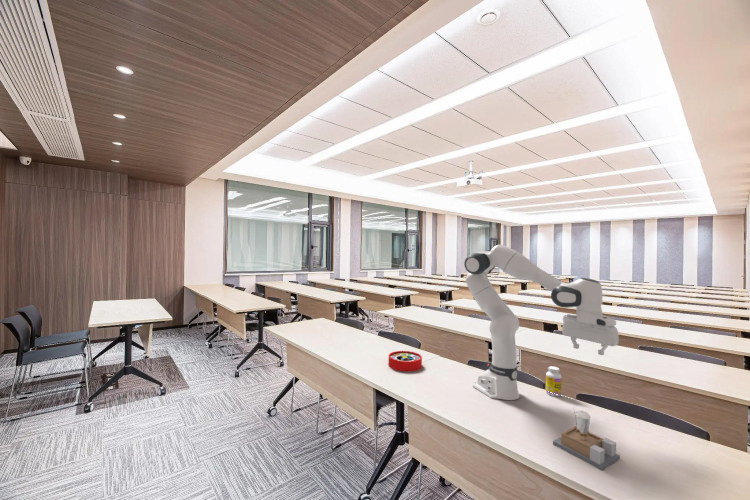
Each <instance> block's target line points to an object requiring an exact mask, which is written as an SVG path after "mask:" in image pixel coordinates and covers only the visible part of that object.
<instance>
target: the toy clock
mask: <svg viewBox="0 0 750 500" xmlns="http://www.w3.org/2000/svg"><path fill="white" fill-rule="evenodd" d="M422 363H423V356H422V355H421V354H419V353H417V352H416V351H409V350H398V351H397V350H395V351H392V352H390V353H389V354H388V364H387V365H388V367H389V368H390V369H392V370H395V371H399V372H416V371H419V370H420V369H422V367H423V365H422Z"/></svg>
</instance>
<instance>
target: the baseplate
mask: <svg viewBox="0 0 750 500" xmlns="http://www.w3.org/2000/svg"><path fill="white" fill-rule="evenodd" d="M552 445H553V446H555V447H557V448H558V449H561V450H563V451H565V452H566V453H568V454H570V455H572V456H575V457H576V458H578V459H580V460H582V461H584V462H585V463H587V464H589V465H590V466H592V467H595V468H596V469H598V470H600V471H602V472H603V471H604V470H606V469H608V468H609V467H610V466H613V464H614V463H616V462H617V461H619V460H621V454H618V453H617V442H616V441H614V440H612V439H609V438H607V437H605V438H603V437H600V436H598V435H596V434H593V433H591V432H589V434H588V440H581V439H579V438H578V437H577V430H576V425H575V426H573V427H570V428H569V429H567V430H566V431H563V432H561V434H560V437H559V438H557V439H555V440H553V441H552Z"/></svg>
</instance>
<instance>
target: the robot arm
mask: <svg viewBox="0 0 750 500" xmlns="http://www.w3.org/2000/svg"><path fill="white" fill-rule="evenodd" d="M464 268H465V270H466V271H467V272H468V274H467V275H466V276H465V279H464V280H465V284H466V285H467V288H468V289H469V290H468V291H469V292H470V293H471V295H472V297H473V299H474V300H475V302H476V303H477V305H478V307H479V309H480V310H481V311H482V312H484V313H485V314H486V316H488V317H489V318H490V320H491V321H490V324H489V333H490V339H491V348H492V349H491V352H492V353H491V354H492V355H491V356H492V357H491V362H488V363H487V367H488V369H486V370H484V371H483V372H481V373H479V374H478V376H477V380H476V381H474V382H473V383H472V387H473V388H474V389H477V390H478V391H479V392H481V393H482V394H484V395H486V396H487V397H489V398H490V399H499V400H504V401H515V400H518V399H519V398H520V397H521V396H520V392H519V389H518V388H519V387H518V380H517V378H518V366H517V352H518V351H517V345H516V333H517V331H518V330H519V328H520V320H519V318H518V316H517V315H516V314H515V313H514V312H513V310H511V308H510V307H509V306H508V305H507V304H506V303H505V301H504V300H503V299H502V298H501V296H500V295H499V293H498V292H497V290H496V289H495V288H494V286H493V284H492V282H490V280H489V278H488V275H490V274H491V273H492V271H493V270H495V268H497V269H500V270H501V271H503V272H504V273H506V274H508V275H509V276H511V277H513V278H516V279H518V280H525V281H530V282H531V281H532V282H534V283H536V284H539V285H540V286H541V287H543V288H545V289H546V290H548V291H550V292H551V293H550V298H551V300H552V303H554V304H555V305H556V306H558V307H560V308H564V309H565V308H576V313H575V314H576V315H575V314H570V313H569V314H567V313H566V314H564V315H563V317H562V322H563V323H562V328H561V333H562V335H563V336H566V337H570V340H571V343H572V345H573V346H572V347H573V349H577V350H579V349H580V344H579V343H577V339H579V340H582V341H587V342H592V343H595V344H601V345H600V347H601V349H598V350H597V354H598V355H599V356H604V355H605V351H606V349H607V348H608V347H617V346H618V344H619V343H620V339H619V338H620V337H619V330H618V329H617V327H616V325H617V321H616V320H615V319H613V318H611V317H609V316H607V315H604V314H603V309H602V303H603V286H602V284H601V283H600V281H598V280H596V279H592V278H586V277H579V278H578V279H576V280H573V281H572V282H568V281H567V282H566V281H564V280H560V279H558V278H556V277H554V276H553V275H552V274H550V273H548V272H547V271H544V270H543V269H541V268H540V267H539V266H537V265H536V264H535V263H533V262H532V261H531V260H530V259H529V258H528V257H526V256H525V255H523V254H522V253H520V252H518V251H517V250H515V249H513V248H510V247H509V246H507V245H504V244H497V245H494V246H493V247H492V248H491V249H490V250H489V249H485V250H478V251H476V252H473V253H471V254H469V255H467V257H466V258H465V259H464Z"/></svg>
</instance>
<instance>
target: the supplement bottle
mask: <svg viewBox="0 0 750 500" xmlns="http://www.w3.org/2000/svg"><path fill="white" fill-rule="evenodd" d="M559 372H560V368H559V367H557V366H554V365H553V366H552V365H551V366H548V371H547V372H546V373H545V393H546V394H547V395H549V396H552V397H560V396H562V374H561V373H559ZM548 391H549V392H548ZM550 392H552V393H553V394H552V393H550ZM554 393H555V394H554ZM556 394H558V395H556Z"/></svg>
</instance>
